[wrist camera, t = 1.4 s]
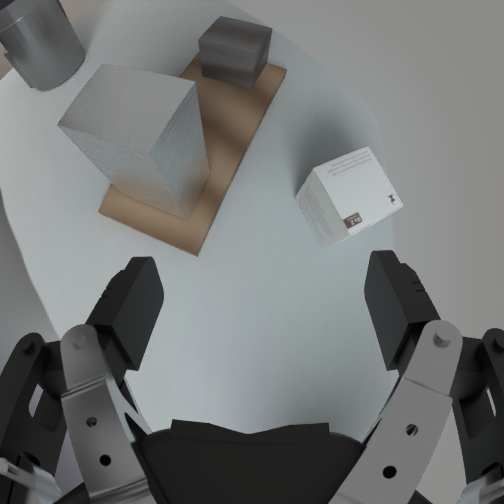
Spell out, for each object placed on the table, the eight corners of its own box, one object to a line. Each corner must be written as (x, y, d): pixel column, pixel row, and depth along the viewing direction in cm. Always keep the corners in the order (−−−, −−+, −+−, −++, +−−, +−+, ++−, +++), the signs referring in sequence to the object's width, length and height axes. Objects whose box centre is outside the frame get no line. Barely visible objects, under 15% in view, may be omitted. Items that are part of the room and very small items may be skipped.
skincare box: (340, 175, 29) (368, 142, 22) (369, 225, 29) (406, 205, 21) (292, 197, 29) (311, 166, 21) (322, 252, 28) (351, 237, 21)
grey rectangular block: (186, 220, 26) (149, 153, 13) (105, 186, 26) (35, 119, 13) (209, 173, 27) (195, 81, 14) (128, 144, 27) (78, 61, 14)
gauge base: (197, 256, 27) (185, 242, 20) (102, 214, 27) (69, 191, 20) (285, 76, 31) (295, 34, 24) (204, 52, 31) (201, 11, 24)
